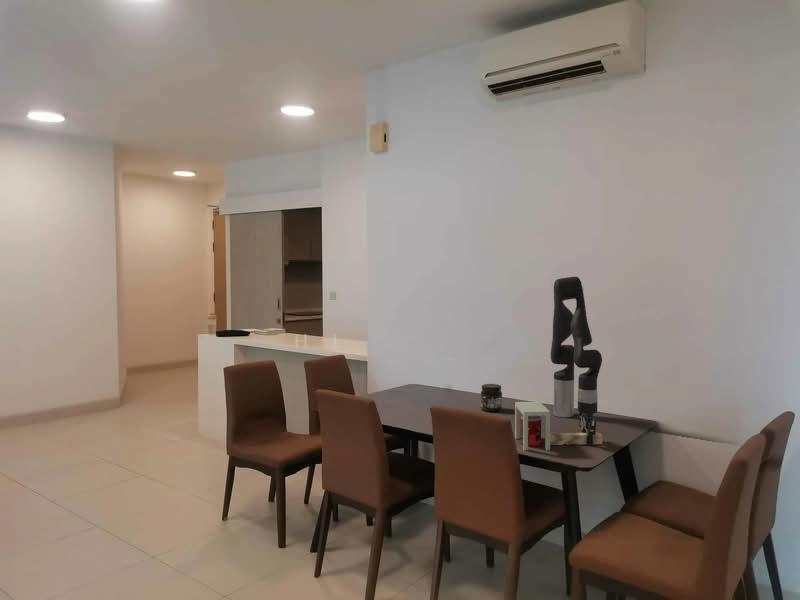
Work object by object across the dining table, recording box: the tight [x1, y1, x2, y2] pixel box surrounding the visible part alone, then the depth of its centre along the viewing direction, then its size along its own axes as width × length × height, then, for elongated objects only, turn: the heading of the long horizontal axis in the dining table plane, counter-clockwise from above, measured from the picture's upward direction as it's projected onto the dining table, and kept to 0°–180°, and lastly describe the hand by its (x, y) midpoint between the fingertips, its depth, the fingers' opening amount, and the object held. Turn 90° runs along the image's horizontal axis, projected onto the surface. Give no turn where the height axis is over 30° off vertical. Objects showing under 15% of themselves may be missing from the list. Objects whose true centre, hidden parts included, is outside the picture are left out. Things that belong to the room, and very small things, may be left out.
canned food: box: [520, 415, 542, 448], centre depth 229 cm, size 8×8×11 cm
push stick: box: [550, 432, 603, 446], centre depth 230 cm, size 22×3×4 cm, turn 91°
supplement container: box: [480, 383, 503, 413], centre depth 283 cm, size 10×10×12 cm
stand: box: [514, 401, 551, 452], centre depth 229 cm, size 16×10×15 cm, turn 1°
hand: (587, 441), depth 230 cm, fingers open, 5 cm apart
